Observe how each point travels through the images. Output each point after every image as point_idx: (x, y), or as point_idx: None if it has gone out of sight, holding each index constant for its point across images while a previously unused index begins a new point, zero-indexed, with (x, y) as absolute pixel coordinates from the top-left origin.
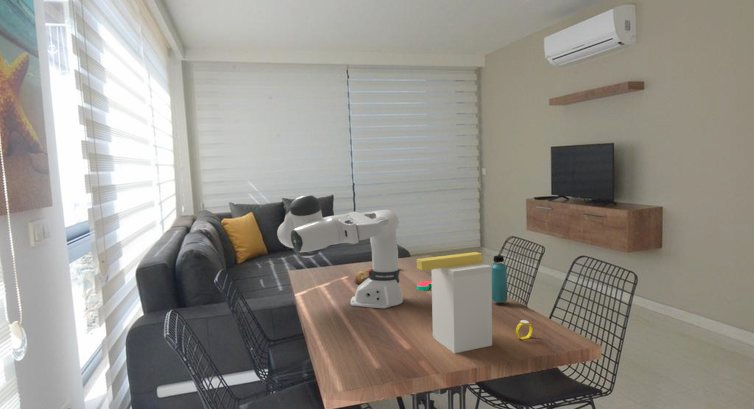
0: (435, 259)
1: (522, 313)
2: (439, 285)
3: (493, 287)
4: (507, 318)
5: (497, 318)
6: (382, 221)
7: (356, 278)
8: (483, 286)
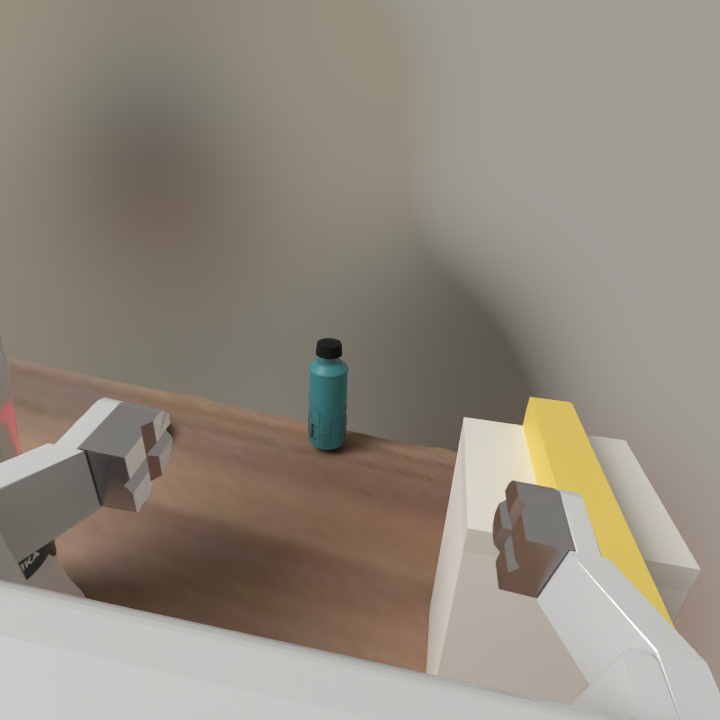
0: (639, 557)
1: (404, 456)
2: (530, 613)
3: (325, 420)
4: (411, 491)
5: (398, 503)
6: (629, 595)
7: None
8: None
